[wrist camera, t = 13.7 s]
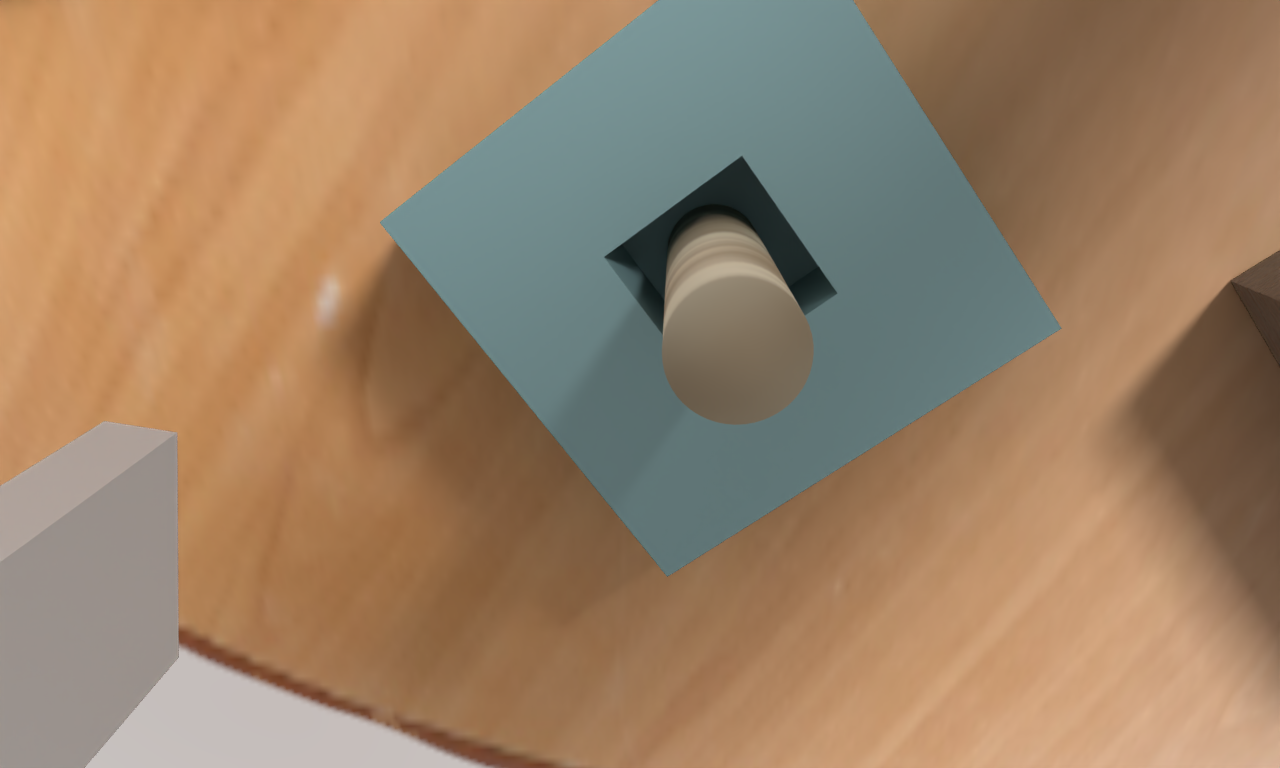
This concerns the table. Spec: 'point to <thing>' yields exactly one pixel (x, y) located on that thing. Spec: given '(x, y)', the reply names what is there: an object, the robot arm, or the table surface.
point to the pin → (730, 321)
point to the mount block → (1263, 299)
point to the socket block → (783, 218)
